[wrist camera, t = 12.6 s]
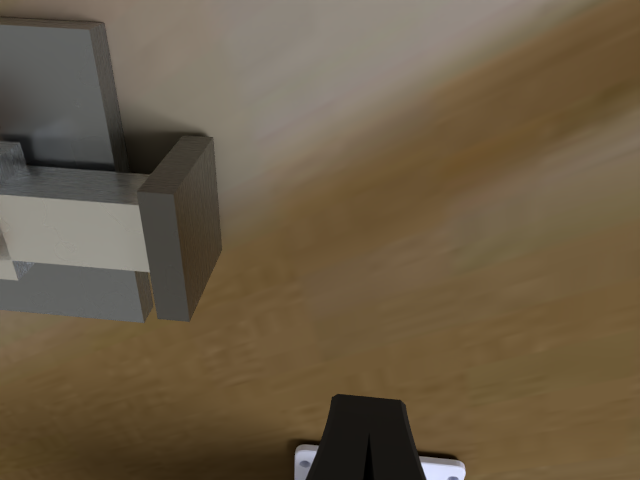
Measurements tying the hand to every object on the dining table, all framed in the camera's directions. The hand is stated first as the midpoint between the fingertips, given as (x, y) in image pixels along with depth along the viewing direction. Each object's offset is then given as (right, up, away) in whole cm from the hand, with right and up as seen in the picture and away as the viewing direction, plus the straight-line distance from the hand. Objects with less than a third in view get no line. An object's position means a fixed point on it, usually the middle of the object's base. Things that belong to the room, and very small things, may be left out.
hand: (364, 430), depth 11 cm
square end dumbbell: (-8, +6, +8) cm, 13 cm away
